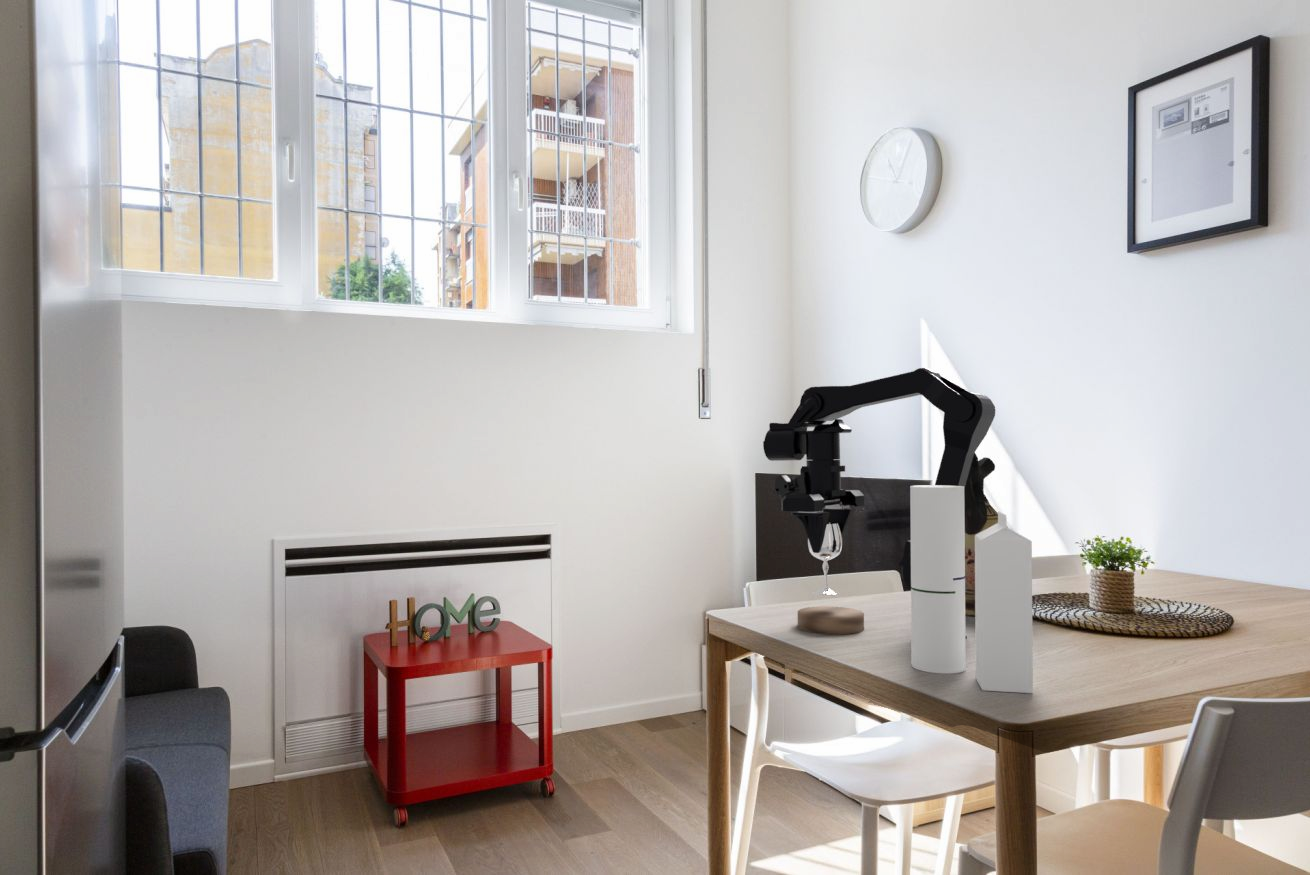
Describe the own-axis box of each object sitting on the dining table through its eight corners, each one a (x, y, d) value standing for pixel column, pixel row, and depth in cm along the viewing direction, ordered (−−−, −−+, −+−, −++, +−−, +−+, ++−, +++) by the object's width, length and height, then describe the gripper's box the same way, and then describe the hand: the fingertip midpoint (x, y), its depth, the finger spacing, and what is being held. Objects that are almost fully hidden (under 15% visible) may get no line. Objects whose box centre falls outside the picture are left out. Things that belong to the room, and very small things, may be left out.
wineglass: (846, 595, 144) (844, 524, 144) (811, 596, 144) (810, 524, 144) (839, 590, 149) (838, 521, 150) (806, 590, 150) (805, 522, 150)
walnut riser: (875, 626, 145) (875, 611, 145) (845, 637, 137) (845, 621, 137) (817, 618, 152) (817, 604, 152) (785, 628, 144) (785, 613, 144)
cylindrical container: (977, 669, 117) (975, 486, 117) (940, 676, 113) (939, 488, 114) (936, 658, 123) (935, 484, 124) (900, 664, 120) (899, 486, 120)
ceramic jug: (954, 601, 168) (953, 449, 168) (1036, 611, 158) (1035, 449, 158) (917, 614, 155) (916, 449, 155) (1004, 626, 145) (1003, 449, 145)
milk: (1023, 681, 111) (1023, 511, 111) (1033, 694, 105) (1033, 515, 106) (974, 678, 113) (974, 510, 113) (980, 691, 107) (980, 514, 107)
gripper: (809, 459, 159) (811, 543, 159) (753, 461, 145) (755, 553, 145) (864, 459, 152) (866, 546, 152) (811, 460, 138) (813, 557, 138)
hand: (825, 550), depth 147 cm, fingers closed on wineglass, 6 cm apart
